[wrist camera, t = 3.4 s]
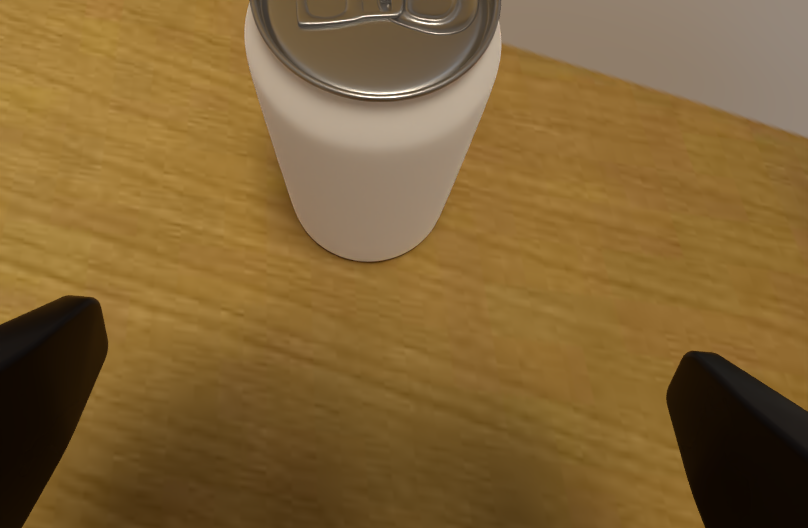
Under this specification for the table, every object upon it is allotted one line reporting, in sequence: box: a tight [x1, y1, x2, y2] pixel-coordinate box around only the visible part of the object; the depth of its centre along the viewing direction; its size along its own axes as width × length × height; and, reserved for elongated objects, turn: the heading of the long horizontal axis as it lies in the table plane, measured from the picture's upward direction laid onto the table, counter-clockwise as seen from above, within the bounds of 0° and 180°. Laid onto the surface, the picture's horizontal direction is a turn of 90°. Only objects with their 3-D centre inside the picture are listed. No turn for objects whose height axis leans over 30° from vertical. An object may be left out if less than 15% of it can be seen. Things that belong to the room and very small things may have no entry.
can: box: [245, 0, 501, 262], centre depth 18 cm, size 6×6×12 cm
